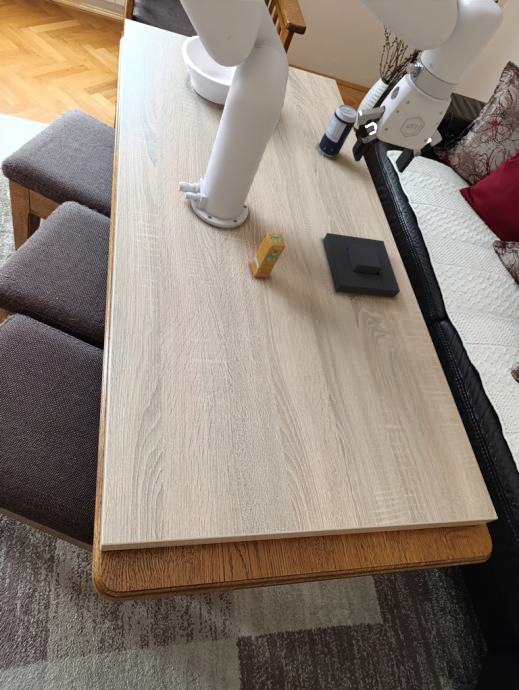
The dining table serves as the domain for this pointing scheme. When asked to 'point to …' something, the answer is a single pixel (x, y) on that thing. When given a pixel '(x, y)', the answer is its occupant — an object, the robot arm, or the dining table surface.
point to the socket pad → (353, 281)
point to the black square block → (364, 259)
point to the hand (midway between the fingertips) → (377, 162)
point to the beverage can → (338, 130)
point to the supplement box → (267, 255)
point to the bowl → (206, 72)
